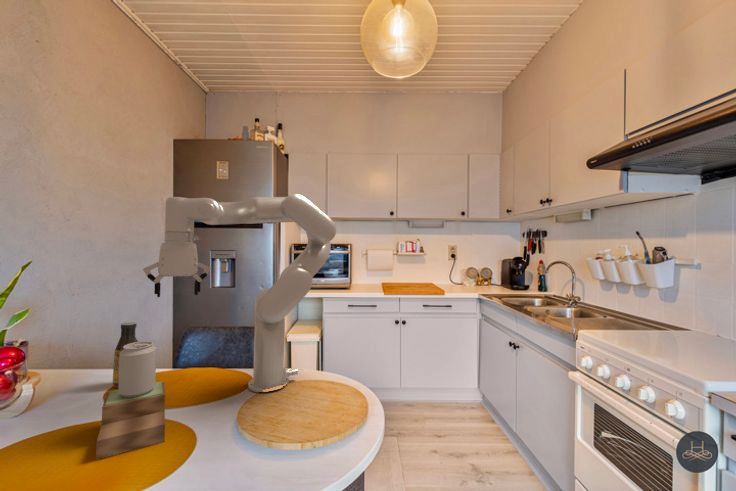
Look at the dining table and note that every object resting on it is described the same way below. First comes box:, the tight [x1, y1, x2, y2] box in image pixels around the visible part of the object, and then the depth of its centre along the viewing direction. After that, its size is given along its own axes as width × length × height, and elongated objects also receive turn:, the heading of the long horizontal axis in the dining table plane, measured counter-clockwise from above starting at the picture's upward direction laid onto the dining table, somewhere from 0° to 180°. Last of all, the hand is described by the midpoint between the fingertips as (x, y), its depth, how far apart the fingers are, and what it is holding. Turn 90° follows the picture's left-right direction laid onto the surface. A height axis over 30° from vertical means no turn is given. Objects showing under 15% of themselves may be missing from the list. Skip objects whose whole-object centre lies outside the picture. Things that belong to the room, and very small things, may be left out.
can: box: [117, 340, 157, 397], centre depth 79 cm, size 8×8×12 cm
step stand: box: [95, 381, 166, 460], centre depth 75 cm, size 12×16×8 cm
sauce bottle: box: [112, 321, 139, 389], centre depth 101 cm, size 7×6×20 cm
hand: (177, 295), depth 94 cm, fingers open, 9 cm apart
